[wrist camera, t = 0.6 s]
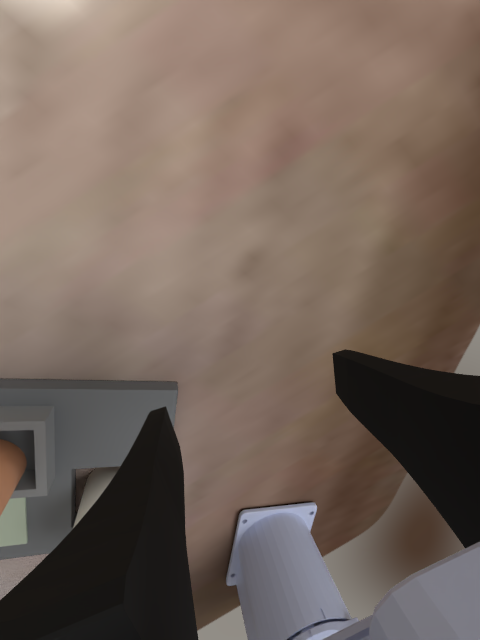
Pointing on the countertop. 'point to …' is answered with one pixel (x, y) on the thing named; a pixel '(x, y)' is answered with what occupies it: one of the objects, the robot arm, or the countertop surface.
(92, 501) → the cartridge
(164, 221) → the countertop surface
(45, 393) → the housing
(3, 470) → the orange round piece
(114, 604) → the robot arm
